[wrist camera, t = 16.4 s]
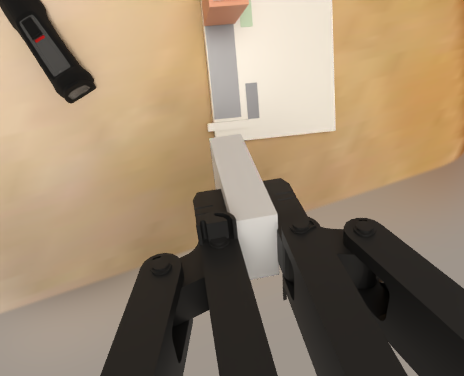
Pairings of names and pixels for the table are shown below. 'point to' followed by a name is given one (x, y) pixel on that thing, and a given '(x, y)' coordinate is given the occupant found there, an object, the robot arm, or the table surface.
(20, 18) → the electric trimmer
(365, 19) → the table surface
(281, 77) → the white fixture board
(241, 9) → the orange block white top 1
